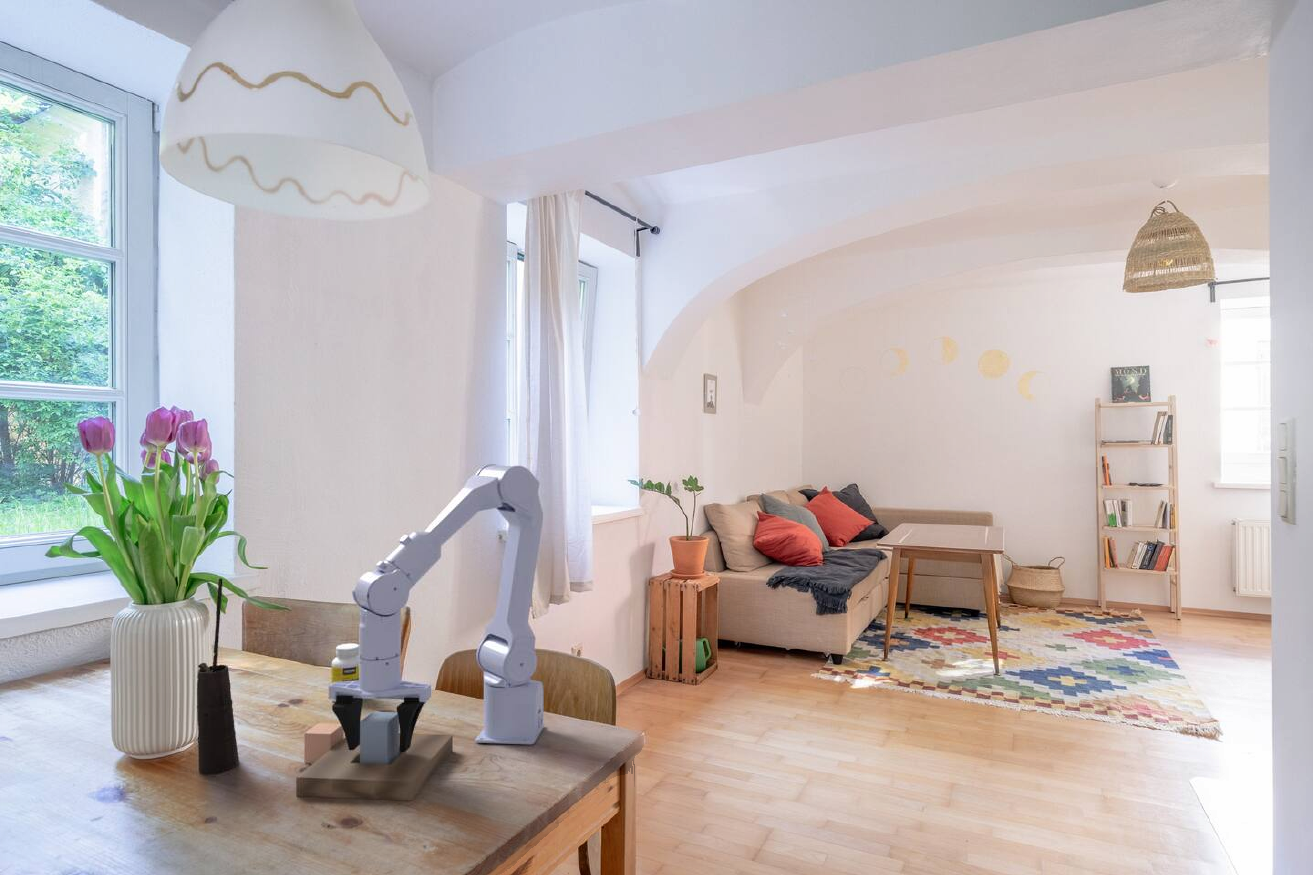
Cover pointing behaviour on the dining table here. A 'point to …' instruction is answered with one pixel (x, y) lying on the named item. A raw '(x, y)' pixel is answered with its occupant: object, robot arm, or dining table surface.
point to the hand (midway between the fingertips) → (379, 748)
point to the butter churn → (215, 712)
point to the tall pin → (379, 738)
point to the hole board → (375, 771)
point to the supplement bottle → (345, 664)
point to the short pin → (321, 740)
